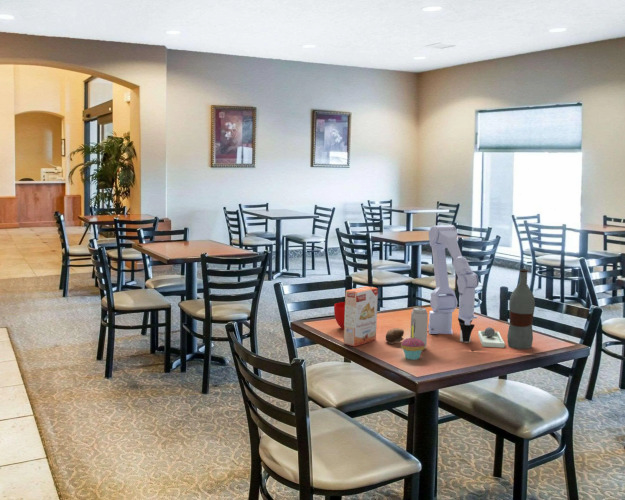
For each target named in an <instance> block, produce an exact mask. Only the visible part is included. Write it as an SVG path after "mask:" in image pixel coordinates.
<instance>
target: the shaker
mask: <svg viewBox="0 0 625 500" xmlns="http://www.w3.org/2000/svg"><path fill="white" fill-rule="evenodd" d="M459 329H460V330H459V331H460V332H459V342H461V343H464V342H463V338H462V330H461V328H459ZM471 336H472V334H471V335H470V340H469V342H465V344H466V343H471Z"/></svg>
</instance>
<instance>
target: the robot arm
mask: <svg viewBox="0 0 625 500" xmlns="http://www.w3.org/2000/svg"><path fill="white" fill-rule="evenodd" d="M457 238H458V230H457V228H456V226H455V225H454V224H450V225H436V224H435V225H431V226H430V229H429V230H428V239H429V246H430V247H431V252H432V253H431V255H432V261H433V263H432V264H433V270H434V271H433V272H434V280H435V288H434V289H433V290H432V292H431V293H430V302H429V305H430V308H431V309H432V310H429V313H428V314H429V315H428V323H427V330H428V334H429V335H439V334H444V335H453V334H454V333H453V327H452V326H453V313H454V312H455V310H456V309H457V306H458V305H459V306H458V315H457V320H458V324H459V327H460V328H459V329H461V330H462V338H463V342H462V343H466V342H468V343H470V342H469V340H470V341H471V339H470V335H471V336H472V332H473V329H474V328H475V324H474V323H473V324H472V322H473V320H474V319H477V318H478V316H477V315H475V304H476V302H475V300H476V299H475V298H476V289H477V288H478V287H479V283H480V280H479V276H478V274H477V273H475V272H474V271H473V270H472V269H471V266H470V264H469V262H468V259H467V258H466V257H465V256H463V255H462V252H461V249H460V246H459V244H458V240H457ZM446 248H447V250H448V252H449V254H450V256H451V258H452V259H453V261H452V262H451V264H452V266H453V267H452V268H453V269H454V272H455V274H456V276H457V279H456V284H457V288H458V291H457V292H458V293H459V300H458V299H457V296H456V292H455V290H453V289H452V288H451V287H450V285H449V284H450V283H449V274H448V266H447V265H448V264H447V257H446ZM458 301H459V303H458Z"/></svg>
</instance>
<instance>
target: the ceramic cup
mask: <svg viewBox="0 0 625 500" xmlns="http://www.w3.org/2000/svg"><path fill="white" fill-rule="evenodd" d="M333 312H334V313H333V314H334V317H335V322H336V323H337V324H338V327H340V329H341V330H343V331H344V319H345V301H341V302H336V303H334V305H333Z"/></svg>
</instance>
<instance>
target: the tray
mask: <svg viewBox="0 0 625 500" xmlns="http://www.w3.org/2000/svg"><path fill="white" fill-rule="evenodd" d="M484 331H485V330H478V331H477V336H478V338H479V341H480V344H481V346H482V347H483V348H485V347H486V348H487V347H488V348H502V349H503V348H505V345H506V343H505V341H504V340H503V336H501V334H500V331H495V334H494V336H493V337H487V336H486V335H485V333H484Z"/></svg>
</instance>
